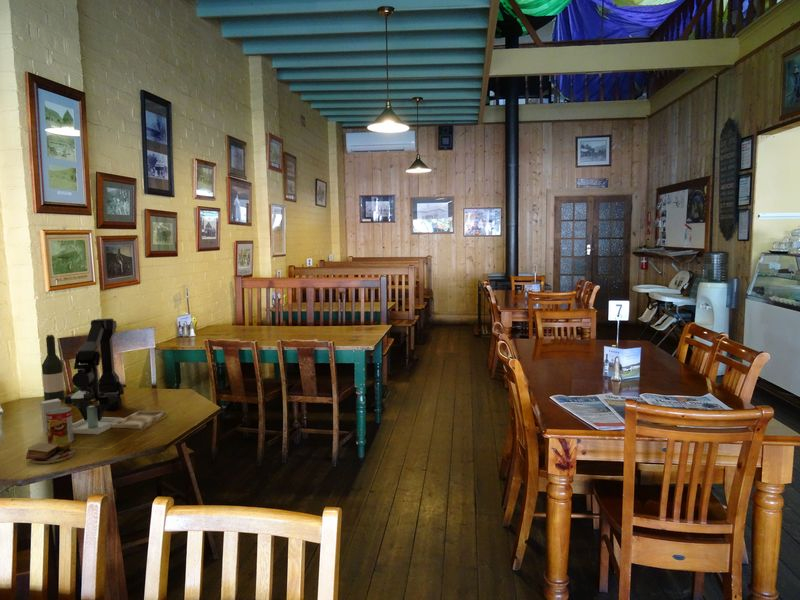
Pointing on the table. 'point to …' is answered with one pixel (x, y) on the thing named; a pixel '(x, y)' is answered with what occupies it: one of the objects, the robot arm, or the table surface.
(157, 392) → the table surface
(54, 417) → the canned food
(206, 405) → the table surface
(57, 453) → the toy sandwich meal
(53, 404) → the skincare box
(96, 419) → the pin
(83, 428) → the white rimmed platter
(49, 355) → the wine bottle
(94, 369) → the robot arm
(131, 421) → the tray
